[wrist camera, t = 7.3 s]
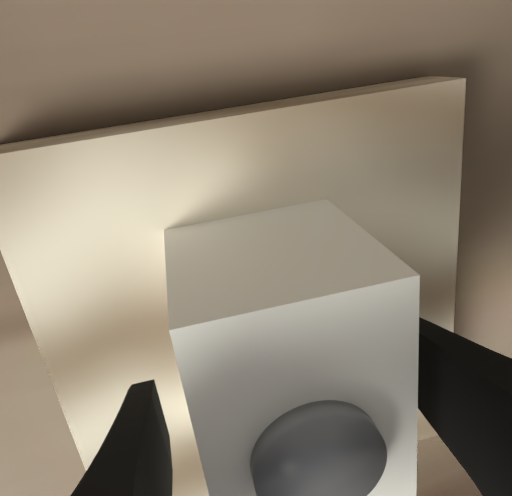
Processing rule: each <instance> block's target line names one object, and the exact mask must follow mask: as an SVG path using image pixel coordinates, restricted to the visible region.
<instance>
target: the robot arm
mask: <svg viewBox="0 0 512 496" xmlns="http://www.w3.org/2000/svg"><path fill="white" fill-rule="evenodd" d="M418 409H419V410H420V412H421V413H422V414H423V416H424V417H425V418H426V420H427V421H428V422H429V424H430V425H431V426H432V428H433V429H434V430H435V431H436V433H437V434H438V435H439V437H440V438H441V439H442V441H443V442H444V443H445V444H446V446H447V447H448V448H449V450H450V451H451V452H452V453H453V455H454V456H455V457H456V459H457V460H458V461H459V463H460V464H461V465H462V466H463V468H464V469H465V470H466V472H467V473H468V475H469V476H470V477H471V479H472V480H473V482H474V483H475V484H476V486H477V487H478V489H479V491H480V492H481V494H482V495H483V496H512V359H511V358H509V357H506V356H504V355H501V354H499V353H497V352H494V351H492V350H490V349H488V348H485V347H483V346H481V345H479V344H477V343H474V342H472V341H470V340H468V339H466V338H464V337H461V336H459V335H457V334H455V333H453V332H451V331H449V330H447V329H445V328H443V327H440V326H438V325H436V324H434V323H432V322H430V321H427V320H425V319H423V318H420V317H419V357H418ZM172 483H173V469H172V457H171V446H170V435H169V432H168V428H167V424H166V421H165V417H164V414H163V410H162V406H161V403H160V399H159V395H158V392H157V388H156V384H155V381H154V379H153V380H149V381H144V382H140V383H136V384H132V385H131V386H130V387H129V389H128V391H127V394H126V396H125V398H124V401H123V403H122V405H121V407H120V410H119V412H118V414H117V416H116V418H115V420H114V422H113V424H112V426H111V428H110V430H109V432H108V434H107V436H106V438H105V440H104V441H103V443H102V445H101V447H100V449H99V451H98V452H97V454H96V456H95V457H94V459H93V461H92V463H91V464H90V466H89V468H88V469H87V471H86V473H85V474H84V476H83V478H82V479H81V481H80V482H79V484H78V485H77V487H76V488H75V490H74V491H73V493H72V494H71V496H172Z"/></svg>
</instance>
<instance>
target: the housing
mask: <svg viewBox="0 0 512 496" xmlns="http://www.w3.org/2000/svg"><path fill="white" fill-rule="evenodd" d="M164 245H165V265H166V284H167V303H168V322H169V333H170V337H171V341H172V345H173V349H174V353H175V357H176V361H177V365H178V369H179V374H180V378H181V382H182V386H183V390H184V394H185V398H186V402H187V406H188V410H189V415H190V419H191V423H192V427H193V431H194V435H195V439H196V443H197V447H198V451H199V456H200V460H201V464H202V468H203V472H204V476H205V480H206V484H207V488H208V492H209V496H416V489H417V423H418V357H419V291H420V275H419V274H418V273H417V272H415V271H414V270H413V269H412V268H411V267H409V266H408V265H407V264H406V263H404V262H403V261H402V260H401V259H399V258H398V257H397V256H396V255H395V254H393V253H392V252H391V251H390V250H388V249H387V248H386V247H385V246H384V245H382V244H381V243H380V242H379V241H377V240H376V239H375V238H374V237H373V236H371V235H370V234H369V233H368V232H366V231H365V230H364V229H363V228H361V227H360V226H359V225H358V224H357V223H355V222H354V221H353V220H352V219H350V218H349V217H348V216H347V215H346V214H344V213H343V212H342V211H341V210H339V209H338V208H337V207H336V206H334V205H333V204H332V203H331V202H330V201H328V200H327V199H323V200H318V201H313V202H308V203H302V204H297V205H292V206H287V207H281V208H276V209H271V210H266V211H260V212H255V213H250V214H245V215H240V216H234V217H229V218H224V219H219V220H213V221H208V222H203V223H198V224H193V225H187V226H182V227H177V228H172V229H166V230H164Z"/></svg>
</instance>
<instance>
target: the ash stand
mask: <svg viewBox="0 0 512 496" xmlns="http://www.w3.org/2000/svg"><path fill="white" fill-rule="evenodd" d="M465 91H466V78H458V77H442V76H425V77H419V78H412V79H406V80H400V81H394V82H387V83H381V84H375V85H369V86H363V87H356V88H350V89H344V90H338V91H331V92H325V93H319V94H313V95H306V96H300V97H294V98H288V99H281V100H275V101H269V102H263V103H256V104H250V105H244V106H238V107H232V108H225V109H219V110H213V111H207V112H200V113H194V114H188V115H182V116H175V117H169V118H163V119H157V120H150V121H144V122H138V123H132V124H125V125H119V126H113V127H107V128H101V129H94V130H88V131H82V132H76V133H69V134H63V135H57V136H51V137H44V138H38V139H32V140H26V141H19V142H13V143H7V144H1V145H0V250H1V253H2V255H3V258H4V261H5V263H6V266H7V268H8V271H9V273H10V276H11V279H12V281H13V284H14V286H15V289H16V292H17V294H18V297H19V299H20V302H21V304H22V307H23V310H24V312H25V315H26V317H27V320H28V322H29V325H30V328H31V330H32V333H33V335H34V338H35V341H36V343H37V346H38V348H39V351H40V353H41V356H42V359H43V361H44V364H45V366H46V369H47V371H48V374H49V377H50V379H51V382H52V384H53V387H54V390H55V392H56V395H57V397H58V400H59V402H60V405H61V408H62V410H63V413H64V415H65V418H66V420H67V423H68V426H69V428H70V431H71V433H72V436H73V439H74V441H75V444H76V446H77V449H78V451H79V454H80V457H81V459H82V462H83V464H84V467H85V469H86V471H87V469H88V468H89V466H90V464H91V463H92V461H93V459H94V457H95V456H96V454H97V452H98V451H99V449H100V447H101V445H102V443H103V441H104V440H105V438H106V436H107V434H108V432H109V430H110V428H111V426H112V424H113V422H114V420H115V418H116V416H117V414H118V412H119V410H120V407H121V405H122V403H123V401H124V398H125V396H126V394H127V391H128V389H129V387H130V386H131V385H132V384H136V383H140V382H144V381H149V380H153V379H154V381H155V384H156V388H157V392H158V395H159V399H160V403H161V406H162V410H163V414H164V417H165V421H166V424H167V428H168V432H169V435H170V446H171V457H172V469H173V483H172V496H209V492H208V488H207V484H206V480H205V476H204V472H203V468H202V464H201V460H200V456H199V451H198V447H197V443H196V439H195V435H194V431H193V427H192V423H191V419H190V415H189V410H188V406H187V402H186V398H185V394H184V390H183V386H182V382H181V378H180V374H179V369H178V365H177V361H176V357H175V353H174V349H173V345H172V341H171V337H170V333H169V322H168V303H167V284H166V265H165V245H164V230H166V229H172V228H177V227H182V226H187V225H193V224H198V223H203V222H208V221H213V220H219V219H224V218H229V217H234V216H240V215H245V214H250V213H255V212H260V211H266V210H271V209H276V208H281V207H287V206H292V205H297V204H302V203H308V202H313V201H318V200H323V199H327V200H328V201H330V202H331V203H332V204H333V205H334V206H336V207H337V208H338V209H339V210H341V211H342V212H343V213H344V214H346V215H347V216H348V217H349V218H350V219H352V220H353V221H354V222H355V223H357V224H358V225H359V226H360V227H361V228H363V229H364V230H365V231H366V232H368V233H369V234H370V235H371V236H373V237H374V238H375V239H376V240H377V241H379V242H380V243H381V244H382V245H384V246H385V247H386V248H387V249H388V250H390V251H391V252H392V253H393V254H395V255H396V256H397V257H398V258H399V259H401V260H402V261H403V262H404V263H406V264H407V265H408V266H409V267H411V268H412V269H413V270H414V271H415V272H417V273H418V274H419V275H420V291H419V317H420V318H423V319H425V320H427V321H430V322H432V323H434V324H436V325H438V326H440V327H443V328H445V329H447V330H449V331H451V332H454V312H455V292H456V272H457V252H458V232H459V212H460V192H461V172H462V152H463V131H464V111H465ZM435 436H438V434H437V433H436V431H435V430H434V429H433V428H432V426H431V425H430V424H429V422H428V421H427V420H426V418H425V417H424V416H423V414H422V413H421V412H420V410H419V409H418V423H417V441H420V440H424V439H427V438H431V437H435Z"/></svg>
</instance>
